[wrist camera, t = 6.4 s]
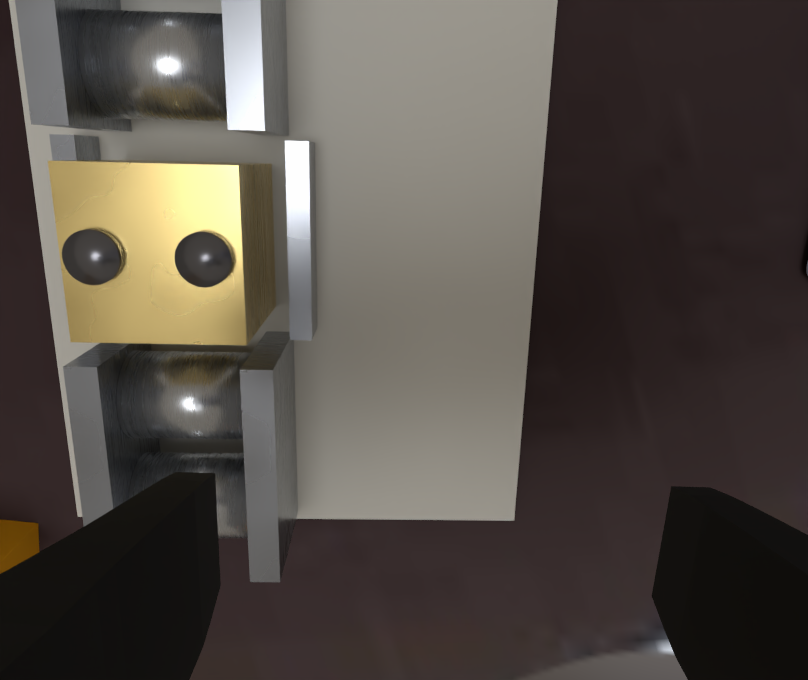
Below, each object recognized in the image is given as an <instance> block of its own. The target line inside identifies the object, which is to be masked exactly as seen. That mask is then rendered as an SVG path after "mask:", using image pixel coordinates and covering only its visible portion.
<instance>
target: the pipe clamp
mask: <svg viewBox="0 0 808 680" xmlns="http://www.w3.org/2000/svg"><path fill="white" fill-rule="evenodd" d="M37 553H39V530H38V523H31V522H20V521H10V520H0V574H1V573H3V572H5V571H7V570H8V569H10V568H12V567H14V566H16V565H17V564H19V563H21V562H23V561H24V560H26V559H28V558H30V557H32V556H33V555H35V554H37Z"/></svg>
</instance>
